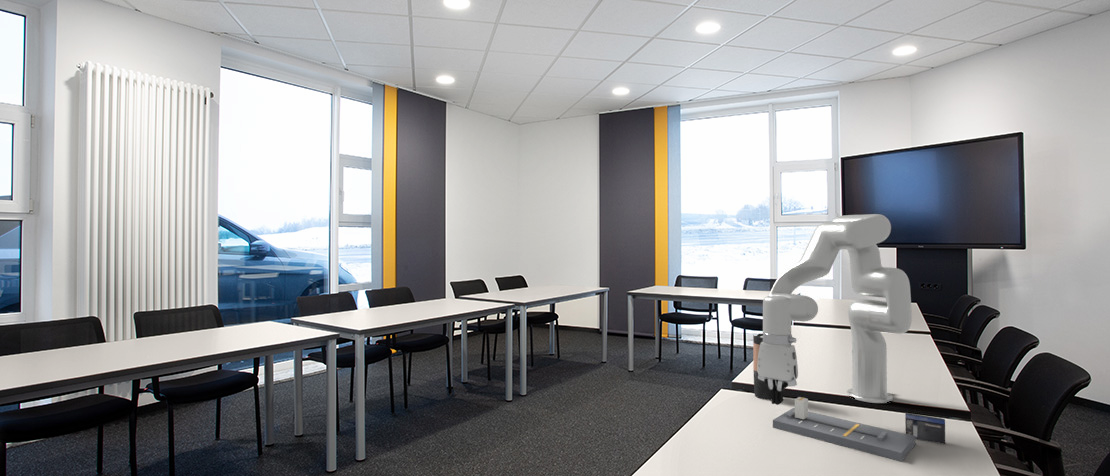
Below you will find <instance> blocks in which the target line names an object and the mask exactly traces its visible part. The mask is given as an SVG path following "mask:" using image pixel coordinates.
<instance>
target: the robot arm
mask: <svg viewBox="0 0 1110 476" xmlns="http://www.w3.org/2000/svg"><path fill="white" fill-rule="evenodd" d="M891 230H892V224H891V222H890V220H889V218H887V217H886V216H885V215H884V214H880V213H879V214H878V213H877V214H876V213H873V214H872V213H871V214H870V213H869V214H866V213H865V214H848V215H847V214H846V215H839V216H836V217H834V218H833V219H832V220H831V221H826V222H822V223H819V224H818V225H817V226H816V227H815V229H814V231H813V233H812V235H811V237H810V239H809V241H808V243H807V245H806V247H805V250H804V252H803V253H802V256H801V258H800V260H799V261H798V262H797V263H795V264H793V265H792V266H790V267H789V268H788V269H787V270H786V271H785V272H783V273H782V274H781V275H780V276H779V277H778V278H777V279H776V280H775V282H774V283H773V286H772V288H771V289H770V292H769V294H768V296H764V297H763V300H762V334H763V342H761V344H760V348H759V354H758V365H757V370H758V379H760V380H762V381H764V382H765V383H766V384H767V385H768V386H769V389H770V398H771V400H770V401H771V404H773V405H777V406H778V405H780V404H782V403H783V401H784V390H785V389H786V388H788V387H789V388H790V387H796V386H797V385H798V383H797V379H798V378H799V366H798V357H797V351H796V346H795V345H794V344H793V343H797V338H796V337H793V334H792V322H793V321H795V322H808V321H812V320H813V319H815V317H816V316H817V315H818V313H819V306H818V303H817V301H816V300H815V299H814V298H812V297H810V296H808V295H803V294H794V293H793V292H794V291H795V290H796V289H797V288H798V287H800V286H802V285H803V284H806V283H808V282H812V281H815V280H817V279H820V278H823V277H825V276H828V274H829V273H830V271H831V270H832V267H833V265H834V262H835V261H836V258H837V256H838V254H839V252H840V251H841V250H847V251H848V252H847V253H848V256H849V267H850V268H849V269H850V281H851V288H852V289H853V292H854V293H856V294H857V295H860V296H863V297H865V296H866V297H874V298H881V299H882V298H883V299H885V301H884V300H876V299H868V298H867V299H866V298H865V299H863V298H862V299H857V300H854V301H853V302H851V303H850V305H849V306H848V309H847V316H848V322H849V326H850V332H851V370H852V372H851V373H852V375H851V376H852V381H851V382H852V384H851V385H852V388H849V389H848V390H847V391H846V394H847V393H848V394H849V395H851V396H853V397H854V398H855V399H854V400H857V401H860V402H864V403H865V402H866V403H872V404H888V403H887V402H889V401H892V400H894V396H893V395H892V394H890V393H888V381H887V380H888V377H887V375H888V371H887V370H888V369H887V368H888V367H887V366H888V365H887V363H888V360H887V355H888V354H887V349H888V348H887V342H886V339H885V337H884V336H883V334H882V332H883V333H888V334H889V333H890V334H897V335H898V334H899V335H901V334H906V333H907V332H908V331H909V330H910V328H911V326H912V321H913V320H912V319H913V314H912V297H911V296H912V295H911V284H910V283H911V282H910V279H909V277H908V275H907V273H905V271H904V270H903V269H900V268H898V267H886V266H883V265H882V262H881V261H882V259H881V252H880V251H881V250H880V249H879V247H878V245H877V244H880V243H883V242H884V241H885V240H887V238H888V237H889V236H890V234H891V232H892V231H891ZM776 380H778V385H777V384H776ZM892 402H893V401H892ZM889 403H890V402H889Z"/></svg>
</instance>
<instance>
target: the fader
mask: <svg viewBox="0 0 1110 476" xmlns="http://www.w3.org/2000/svg"><path fill="white" fill-rule="evenodd" d="M794 408H795V418H800V419H806V418H807V417H808V411H809V399H808V398H806V397H801V396H798V397H797V398H795V399H794Z"/></svg>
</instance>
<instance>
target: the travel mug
mask: <svg viewBox="0 0 1110 476" xmlns="http://www.w3.org/2000/svg"><path fill="white" fill-rule="evenodd" d="M752 336H753V343H752V344H753V347H752V348H753V355H752V357H753V361H752V362H753V363H752V364H753V368H752V369H753V386H754V387H753V389H754V392H753V393H754V397H755V398H757V399H761V400H766V401H768V400H769V401H772V400H771V398H770V389H769V386H768V385H767V384H766V383H765V382H764V381H762V380H760V379H758V370H757V365H758V354H759V348H760V344H761V342H763V333H758V334H757V335H754V334H753V335H752ZM776 384H777V385H778V380H776Z"/></svg>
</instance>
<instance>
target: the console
mask: <svg viewBox="0 0 1110 476" xmlns="http://www.w3.org/2000/svg"><path fill="white" fill-rule="evenodd" d="M772 428H774V429H777V430H782V431H786V432H788V433H793V434H796V435H801V436H805V437H807V438H811V439H816V440H819V441H822V442H827V443H830V444H835V445H839V446H841V447H845V448H849V449H853V450H856V451H857V450H858V451H860V452H865V453H868V454H871V455H872V454H873V455H876V456H880V457H883V458H886V459H887V458H888V459H890V460H894V461H899V462H902V461H903V460H904V459H905V458H906V456H908V454H909V453H910V452H911V451H912V449H913V448H914V447H915V446H916V444H917V441H916V440H917V439H916V436H913V435H909V434H906V433H904V432H900V431H894V430H890V429H886V428H882V427H877V426H875V425H874V426H873V425H869V424H864V423H860V422H856V421H851V420H847V419H842V418H839V417H835V416H829V415H825V414H822V413H816V412H813V411H809V410H808V417H807V418H806V419H800V418H795V407H793V408H790V409H788V411H786V412H784V413H782V414H781V415H779V416H777V417H776V418H773V419H772Z"/></svg>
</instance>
